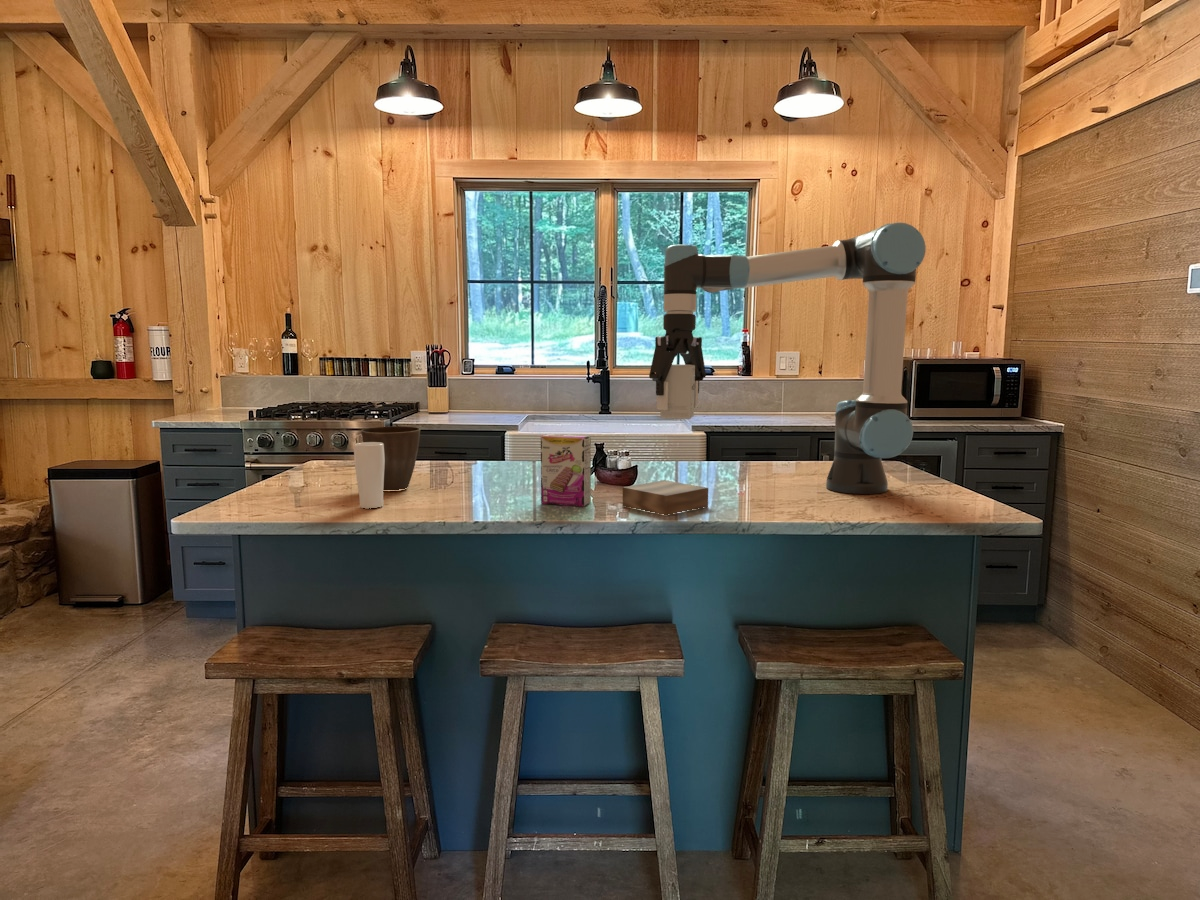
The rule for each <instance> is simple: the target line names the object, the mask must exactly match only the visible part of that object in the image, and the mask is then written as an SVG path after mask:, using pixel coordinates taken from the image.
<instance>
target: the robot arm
mask: <svg viewBox="0 0 1200 900" xmlns="http://www.w3.org/2000/svg"><path fill="white" fill-rule="evenodd" d="M664 251H665V254H664V265H663V270H664V271H663V272H664V273H663V286H664V287H663V289H664V290H663V294H664V295H663V311H664V313H666V314H664V315H663V319H662V320H663V327H662V328H663V330H665V335H661V336H658V335H656V336H655V339H654V341H655V342H654V343H655V344H654V345H655V346H654V347H655V348H654V352H653V355H652V357H653V358H652V360H651V365H650V369H649V376H648V377H649V379H651V380H652V381H653V382H655V396H656V397H657V398H656V410H660V411H661V410H668V382H664V381H665V380H666V378H667V375H668V373H669V370H670V368H671V365H673V364H674V360H675V357H677V356H678V355H680V356H681V357H682V359H683V362H684V365H695V390H694V409H697V408H698V406H699V404H698V403H699V402H698V401H699V393H700V381H704V378H706V376H707V372H706V366H705V360H704V354H703V347H702V345H703V338H702V337H701V336H700V337H699V336H694V334H693V331H695V330H696V327H697V326H696V323H697V321H696V319H697V316H696V314H694V313H695V312H696V311H697V288H700V289H701V290H702V291H704V292H706V293H709V294H714V293H718V292H722V291H730V290H737V289H745V288H754V287H761V286H769V285H770V286H771V285H778V284H784V283H785V284H786V283H787V284H788V283H791V282H792V283H793V282H801V281H811V280H819V279H825V278H836V279H837V280H838V281H842V280H851V279H853V280H859V279H862V286H863V287H864V288H866V290H867V291H868V299H867V300H868V301H867V302H868V303H867V304H868V305H867V320H866V337H865V350H864V351H865V352H864V353H865V355H864V371H863V388H862V394H860V395H859V396H858V397H857V398H856V399H852V400H851V399H850V400H842V401H839V402H838V403H837V404H836V408H835V413H834V416H835V417H834V418H835V421H834V422H835V425H834V426H835V428H834V454H833V455H834V457H833V461H832V464H831V467H830V470H829V472H828V473H827V474H828V475H827V477H826V481H825V482H826V484H825V485H826V486H825V487H826V489H827V490H829V491H833V492H836V493H845V494H854V495H855V494H856V495H857V494H858V495H874V494H882V493H886V492H888V488H889V487H888V485H889V484H888V482H889V481H888V479H887V475H886V471H885V469H884V465H883V462H882V461H883V459H890V458H891V459H892V458H894V457H897V456H899V455H901V454H902V453H903V452H904V451H905V450H907V449H908V447H909V446H910V444H911V443H912V440H913V435H914V426H913V423H912V421H911V419H910V417H908V415H907V414H908V413H907V412H908V400H907V399H906V398H905V397H904V396H903V395H902V387H903V386H902V383H903V382H902V381H903V370H904V354H905V353H904V352H905V342H906V341H905V337H906V326H907V325H906V324H907V323H906V322H907V310H908V307H907V306H908V293H909V290H910V289H912V287H914V286H915V285H916V279H917V278H916V277H917V269H918V268H919V266H921V264H922V262H923V261H924V258H925V255H926V241H925V239H924V236H923V235H922V233H921V232H920V231H919V229H917V228H916V227H915V226H914V225H912V224H909V223H906V222H892V223H886V224H884V225H881V226H880V227H878V228H876V229H873V230H870V231H868V232H865V233H863V234H860V235H857V236H855V237H852V238H848V239H842V240H836V241H835V242H834V243H833V244H832V245H827V246H820V247H813V248H812V247H811V248H805V249H796V250H790V251H780V252H772V253H766V254H765V253H764V254H757V255H750V256H749V255H748V256H746V255H739V254H700V253H699V252H698V247H697V246H696V245H693V244H671V245H669V246H668V247H666V249H665V250H664ZM661 375H662V376H661Z"/></svg>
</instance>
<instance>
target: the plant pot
mask: <svg viewBox="0 0 1200 900" xmlns="http://www.w3.org/2000/svg"><path fill="white" fill-rule="evenodd" d="M360 431H361V432H360V433H361V438H362V443H364V442H381V443H383V444H384V454H385V466H384V488H383V490H399V489H405V488H407V487H408V488H409V485H410V483H411V479H412V476H413V473H414V470H415V467H416V461H417V457H418V452H419V447H420V446H419V445H420V436H421V428H420V427H418V426H417V427H416V426H400V425H399V426H398V425H397V426H393V425H392V426H377V427H366V428H362V429H361V430H360ZM408 488H407V489H408Z"/></svg>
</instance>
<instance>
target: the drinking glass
mask: <svg viewBox="0 0 1200 900" xmlns="http://www.w3.org/2000/svg"><path fill="white" fill-rule="evenodd" d="M353 457H354V458H353V459H354V469H355V476H356V483H357V490H358V501H359V507H360V508H361V509H363V508H365V509H364V510H372V509H371V508H377V507H380V508H382V507H383V506H384V492H383V488H384V466H385V454H384V444H383V443H381V442H364V443H363V442H356V443H355V444H353ZM381 506H382V507H381ZM369 508H370V509H369ZM377 509H378V508H377Z"/></svg>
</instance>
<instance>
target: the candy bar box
mask: <svg viewBox="0 0 1200 900" xmlns="http://www.w3.org/2000/svg"><path fill="white" fill-rule="evenodd" d="M591 439H592V438H591V436H590V435H580V434H579V435H578V434H577V435H575V434H559V433H558V434H556V433H546V434H543V435H541V436H540V501H541V502H540V503H541V505H542V504H545V505H555V506H568V507H569V506H570V507H581V508H582V507H584V508H585V507H586V506H588V505H589V503H590V504H591V503H592V502H591V499H592V496H591V495H592V491H591V490H592V489H591V486H592V485H591V480H592V479H591V477H592V475H591V474H592V473H591V469H592V468H591V466H592V465H591V464H592V463H591V462H592V461H591V460H592V458H591V456H592V454H591V453H592V451H591V447H592V443H591ZM587 504H588V505H587ZM585 505H586V506H585Z"/></svg>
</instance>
